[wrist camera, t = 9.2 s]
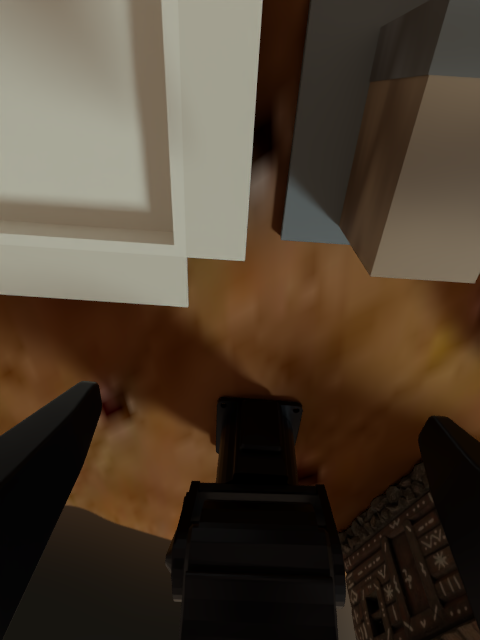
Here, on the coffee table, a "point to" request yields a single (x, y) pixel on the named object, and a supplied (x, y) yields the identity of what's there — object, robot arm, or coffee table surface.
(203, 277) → the coffee table surface
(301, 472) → the coffee table surface
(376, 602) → the model building
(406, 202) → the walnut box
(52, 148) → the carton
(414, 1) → the slate mat
